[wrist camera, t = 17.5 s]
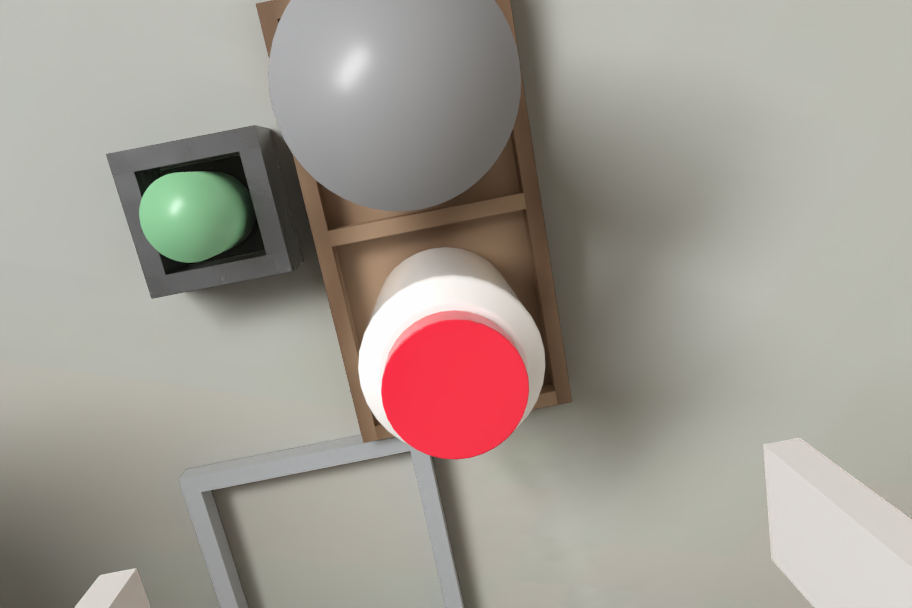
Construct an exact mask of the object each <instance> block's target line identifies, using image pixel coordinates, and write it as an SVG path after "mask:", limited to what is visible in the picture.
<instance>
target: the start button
mask: <svg viewBox="0 0 912 608" xmlns="http://www.w3.org/2000/svg"><path fill="white" fill-rule="evenodd" d="M139 218H140V224H141V228H142V230H143V233H144V235H145V237H146V238H147V240H148V241H149V243H150V244H151V245H152V246H153V247H154V248H155V249H156V250H157V251H158V252H160V253H161V254H162V255H164V256H166V257H168V258H170V259H172V260H175V261H179V262H185V263H194V262H200V261H204V260H206V259H209V258H211V257H213V256H215V255H217V254H220V253H222V252H224V251H226V250H229V249H231V248H233V247H235V246H237V245H239V244H240V243H242V242H243V241H244V240H245V239H246V238H247V237H248V235H249V234H250V232H251V231H252V229H253V226H254V222H255V210H254V206H253V202H252V198H251V195H250V193H249V191H248V190H247V188H246V187H245V186H244V185H243V184H242V183H241V182H240V181H239V180H237V179H236V178H235V177H233V176H231V175H229V174H226V173H223V172H219V171H197V172H177V173H171V174H167V175H164V176H162V177H160V178H158V179H157V180H155V181H154V182H153V183H152V184H151V185H150V186H149V187H148V188H147V190H146V191H145V193H144V195H143V197H142V199H141V203H140V208H139Z"/></svg>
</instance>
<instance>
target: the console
mask: <svg viewBox="0 0 912 608" xmlns="http://www.w3.org/2000/svg"><path fill="white" fill-rule="evenodd" d="M106 156H107V159H108V162H109V165H110V169H111V172H112V175H113V178H114V181H115V184H116V188H117V191H118V194H119V197H120V200H121V203H122V207H123V210H124V213H125V216H126V219H127V222H128V226H129V229H130V232H131V235H132V238H133V241H134V245H135V248H136V251H137V254H138V257H139V260H140V264H141V267H142V270H143V273H144V276H145V279H146V283H147V286H148V289H149V292H150V295H151V298H152V299H153V298H158V297H163V296H168V295H173V294H178V293H183V292H188V291H194V290H199V289H204V288H209V287H214V286H219V285H224V284H229V283H235V282H240V281H245V280H250V279H255V278H260V277H265V276H270V275H276V274H281V273H286V272H291V271H293V270H294V269H295V268H297V267H298V266H299V265H300V264H301V263H303V262H304V261H303V257H302V253H301V249H300V245H299V241H298V237H297V233H296V229H295V225H294V221H293V217H292V213H291V209H290V205H289V201H288V197H287V193H286V189H285V185H284V181H283V177H282V173H281V169H280V165H279V161H278V157H277V153H276V149H275V145H274V141H273V137H272V133H271V129H269V128H264V127H260V126H255V125H254V126H249V127H244V128H238V129H233V130H228V131H223V132H218V133H213V134H208V135H202V136H197V137H192V138H187V139H182V140H177V141H171V142H166V143H161V144H156V145H151V146H146V147H140V148H135V149H130V150H125V151H120V152H115V153H109V154H106ZM234 156H240V157H241V161H242V164H243V168H244V172H245V176H246V179H247V183H248V187H249V191H250V195H251V198H252V202H253V206H254V210H255V213H256V217H257V221H258V225H259V228H260V232H261V236H262V240H263V244H264V247H265V250H263V251H257V252H252V253H247V254H242V255H237V256H232V257H227V258H222V259H216V260H211V261H206V262H201V263H196V264H191V265H189V264H188V263H185V262H179V261H175V260H172V259H170V258H168V257H166V256H164V255H162V254H161V253H160V252H158V251H157V250H156V249H155V248H154V247H153V246H152V245H151V244H150V243H149V241H148V240H147V238H146V237H145V235H144V233H143V230H142V228H141V224H140V218H139V208H140V203H141V199H142V197H143V195H144V193H145V191H146V190H147V188H148V187H149V186H150V185H151V184H152V183H153V182H154V181H155V180H157V179H158V178H160V177H162V173H161V171H162V170H167V169H173V168H178V167H183V166H188V165H193V164H198V163H204V162H209V161H214V160H219V159H224V158H229V157H234Z"/></svg>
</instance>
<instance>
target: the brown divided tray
mask: <svg viewBox="0 0 912 608" xmlns="http://www.w3.org/2000/svg"><path fill="white" fill-rule="evenodd" d="M290 1H291V0H273V1H267V2H262V3H257V4H256V7H257V11H258V15H259V19H260V23H261V27H262V31H263V35H264V39H265V44H266V48H267V52H268V56H269V58H270V52H271V47H272V42H273V38H274V35H275V32H276V29H277V26H278V23H279V21H280V19H281V17H282V15H283V13H284V11H285V9H286V7H287V5H288V4H289V2H290ZM495 2H496V3H497V5H498V6H499V8H500V9H501V11H502V12H503V14H504V16H505V18H506V20H507V22H508V24H509V26H510V29H511V32H512V34H513V37H514V40H515V43H516V47H517V42H516V35H515V29H514V22H513V16H512V10H511V3H510V0H495ZM517 52H518V48H517ZM518 56H519V55H518ZM520 72H521V68H520ZM292 154H293V153H292ZM293 158H294V162H295V166H296V170H297V174H298V178H299V182H300V186H301V190H302V194H303V199H304V203H305V207H306V211H307V215H308V219H309V223H310V227H311V231H312V235H313V239H314V243H315V247H316V252H317V256H318V260H319V264H320V268H321V272H322V276H323V280H324V284H325V288H326V292H327V296H328V300H329V305H330V309H331V313H332V317H333V321H334V325H335V329H336V333H337V337H338V341H339V345H340V349H341V353H342V358H343V362H344V366H345V370H346V374H347V378H348V382H349V386H350V390H351V394H352V398H353V402H354V406H355V411H356V415H357V419H358V423H359V427H360V431H361V435H362V439H363V443H366V442H371V441H376V440H381V439H386V438H391V437H395V436H394V435H392V434H391V433H390V432H388V431H387V430H386V429H385V428H384V427H383V425H382V424H381V423H380V422H379V421H378V420H377V419H376V418H375V416H374V414H373V413H372V411H371V409H370V408H369V406H368V405H367V403H366V400H365V397H364V395H363V392H362V389H361V386H360V379H359V372H358V362H359V350H360V346H361V343H362V339H363V336H364V332H365V329H366V327H367V324H368V321H369V318H370V315H371V313H372V310H373V307H374V304H375V301H376V299H377V296H378V293H379V291H380V289H381V287H382V285H383V283H384V281H385V279H386V278H387V277H388V276H389V274H390V273H391V272H392V271H393V269H394V268H395V267H397V266H398V265H399V264H400V263H401V262H403V261H404V260H405V259H407V258H409V257H411V256H412V255H414V254H416V253H418V252H422V251H425V250H428V249H431V248H441V247H451V248H461V249H464V250H467V251H471V252H474V253H476V254H478V255H480V256H481V257H483V258H485V259H487V260H488V261H489V262H490V263H492V264H493V265H494V266H495V267H497V268H498V270H499V271H500V272H501V273H502V275H503V276H504V277H505V278H506V280H507V281H508V283H509V284H510V285H511V287H512V288H513V290H514V291H515V293H516V294H517V296H518V297H519V298H520V300H521V301H522V303H523V304H524V306H525V307H526V309H527V310H528V312H529V313H530V314H531V316H532V318H533V320H534V322H535V324H536V326H537V328H538V330H539V332H540V335H541V339H542V342H543V346H544V351H545V373H544V380H543V385H542V388H541V391H540V394H539V397H538V400H537V402H536V403H535V405H534V407H533V408H532V410H533V409H538V408H543V407H549V406H554V405H559V404H564V403H569V402H572V399H571V393H570V386H569V380H568V373H567V367H566V360H565V354H564V347H563V341H562V334H561V328H560V321H559V315H558V308H557V302H556V295H555V289H554V282H553V276H552V269H551V263H550V256H549V250H548V243H547V237H546V230H545V224H544V217H543V211H542V204H541V198H540V191H539V185H538V178H537V172H536V165H535V159H534V152H533V146H532V139H531V133H530V126H529V120H528V113H527V107H526V100H525V94H524V87H523V81H522V74H521V96H520V102H519V108H518V114H517V117H516V121H515V124H514V127H513V130H512V132H511V135H510V137H509V139H508V142H507V144H506V146H505V147H504V149H503V151H502V152H501V154H500V156H499V158H498V159H497V160H496V161H495V163H494V164H493V165H492V167H491V168H490V169H489V171H488V172H487V173H486V174H485V175H484V176H482V177H481V178H480V179H479V180H478V181H477V182H476V183H475V184H474V185H472V186H471V187H470V188H468V189H467V190H466V191H465V192H463V193H461V194H459V195H458V196H456V197H454V198H452V199H451V200H448V201H446V202H443V203H441V204H438V205H436V206H432V207H428V208H424V209H420V210H412V211H384V210H377V209H372V208H368V207H365V206H361V205H358V204H355V203H353V202H351V201H348V200H346V199H344V198H342V197H340V196H338V195H337V194H335V193H333V192H331V191H330V190H328V189H327V188H326V187H324V186H323V185H322V184H320V183H319V182H318V181H316V180H315V179H314V178H313V177H312V176H311V175H310V174H309V173H308V172H307V171H306V170H305V169H304V168H303V166H302V165H301V164H300V163H299V161H298V160H297V159H296V158H295V156H294V155H293Z"/></svg>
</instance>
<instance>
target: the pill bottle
mask: <svg viewBox="0 0 912 608" xmlns="http://www.w3.org/2000/svg"><path fill="white" fill-rule="evenodd" d="M358 372H359V379H360V386H361V389H362V392H363V395H364V397H365V400H366V403H367V405H368V406H369V408H370V409H371V411H372V413H373V414H374V416H375V418H376V419H377V420H378V421H379V422H380V423H381V424H382V425H383V427H384V428H385V429H386V430H387V431H388V432H390V433H391V434H392V435H394V436H395V437H397V438H398V439H399V440H401V441H402V442H404V443H406V444H409V445H410V446H412V447H413V448H414V449H416V450H418V451H420V452H423V453H425V454H427V455H430V456H434V457H438V458H442V459H464V458H471V457H474V456H477V455H481V454H484V453H486V452H488V451H489V450H491V449H493V448H495V447H497V446H498V445H499V444H501V443H502V442H503V441H505V440H506V439H507V438H508V437H509V436H510V435H511V433H512V432H513V431H514V430H516V429H517V428H518V427H519V425H520V424H521V423H522V422H523V421H524V420H525V419H526V418H527V417H528V415H529V414H530V412H531V410H532V408H533V407H534V405H535V403H536V402H537V400H538V397H539V394H540V391H541V388H542V385H543V380H544V373H545V351H544V346H543V342H542V339H541V335H540V332H539V330H538V328H537V326H536V324H535V322H534V320H533V318H532V316H531V314H530V313H529V312H528V310H527V309H526V307H525V306H524V304H523V303H522V301H521V300H520V298H519V297H518V296H517V294H516V293H515V291H514V290H513V288H512V287H511V285H510V284H509V283H508V281H507V280H506V278H505V277H504V276H503V275H502V273H501V272H500V271H499V270H498V268H497V267H495V266H494V265H493V264H492V263H490V262H489V261H488V260H487V259H485V258H483V257H481V256H480V255H478V254H476V253H474V252H471V251H467V250H464V249H461V248H451V247H441V248H431V249H428V250H425V251H422V252H418V253H416V254H414V255H412V256H411V257H409V258H407V259H405V260H404V261H403V262H401V263H400V264H399V265H398V266H397V267H395V268H394V269H393V271H392V272H391V273H390V274H389V276H388V277H387V278H386V279H385V281H384V283H383V285H382V287H381V289H380V291H379V293H378V296H377V299H376V301H375V304H374V307H373V310H372V313H371V315H370V318H369V321H368V324H367V327H366V329H365V332H364V336H363V339H362V343H361V346H360V350H359V362H358Z"/></svg>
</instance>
